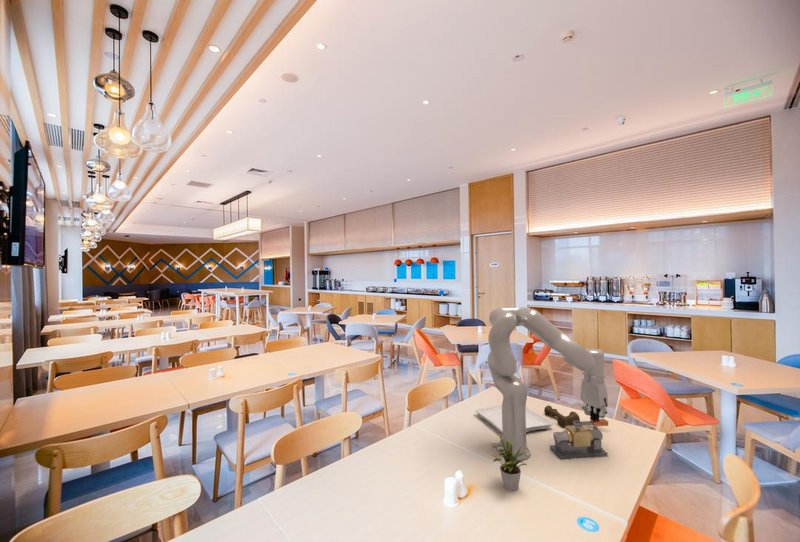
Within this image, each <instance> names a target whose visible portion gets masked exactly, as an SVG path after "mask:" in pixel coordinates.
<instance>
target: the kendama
mask: <svg viewBox="0 0 800 542" xmlns="http://www.w3.org/2000/svg"><path fill="white" fill-rule="evenodd" d="M543 412H544V415H546V416H551V418H556V422H557V424H558V426H559V427H561V428H563V427H564V428H566V426H568V425H569V424H573V421H575V420H579V421H580V422H581V419H580V416H579V414H578V413H577V412H576V411H570V412H569V414H568V415H566V416H564V415H563V414H562V413H560V412H559V411H558V409H557V408H553V407H552V406H551V405H546V406H545V407H544V410H543Z"/></svg>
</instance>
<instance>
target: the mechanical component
mask: <svg viewBox="0 0 800 542" xmlns="http://www.w3.org/2000/svg"><path fill="white" fill-rule="evenodd" d="M581 409H582V410H583V411H584V414H585V415H586V416H589V417H590V411H589V408H588V406H587V405H586V404H584V405H582V407H581ZM607 414H608V410H607V411H606V412H602V411H601V412H600V413H599V419H605V417H606V415H607ZM592 428H593V429H592V430H596V429H597V428H598V426H593V425H592Z"/></svg>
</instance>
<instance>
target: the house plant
mask: <svg viewBox="0 0 800 542" xmlns="http://www.w3.org/2000/svg"><path fill="white" fill-rule="evenodd" d="M497 436H498V437H499V440H500V439H501V442H502V445H503V448H504V451H502V452H499V451H501V450H500V449H499V450H498V452H497V453H496V455H498V456H499V455H501V456H502V458H503V460H502V459H500V458H498V457H497V456H495V455H494V454H493V455H492V454H490V456H492V457H493V458H494V459H493V461H492V464H493V463H494V462H500V463H501V465H500V466H499V470H500V474H501V480H502V486H503V487H504V489H506V490H508V491H509V492H511V491H512V492H513V491H514V492H516V491H518V490H519V487H520V478H521V474H522V473H521V472H522V470H521V468H520V466H527V463H524V462H523V460H517V459H516V458H517V457H519V456H521V455H522V454H523V453H525V452H528V451H524V452H523V453H519V451H520V449H521V447H522V446H521V447H520V449H519V450H518V452H517V454H516V455H514V456H513V455H512V445H511V442H510V440H508V439H506V448H505V444H504V441H503V437H501V436H500V435H499V434H497ZM513 442H514V441H513ZM491 443H492V442H491ZM491 443H490V442H488V444H490V445H491ZM493 445H494V444H493ZM508 445H509V449H508ZM494 446H496V445H494ZM496 447H497V446H496ZM506 450H507V451H506ZM520 463H521V464H520Z"/></svg>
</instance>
